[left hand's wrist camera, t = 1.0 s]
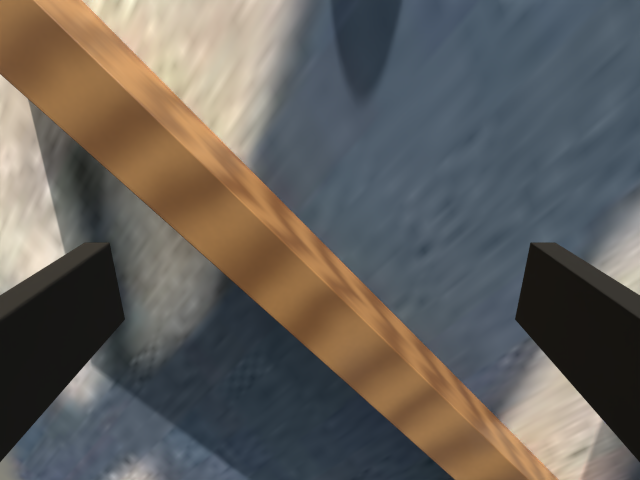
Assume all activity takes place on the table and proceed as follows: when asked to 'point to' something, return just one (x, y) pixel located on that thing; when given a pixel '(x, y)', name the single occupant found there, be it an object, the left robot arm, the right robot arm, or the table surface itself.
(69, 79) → the beam
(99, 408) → the table surface
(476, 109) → the table surface
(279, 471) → the table surface
